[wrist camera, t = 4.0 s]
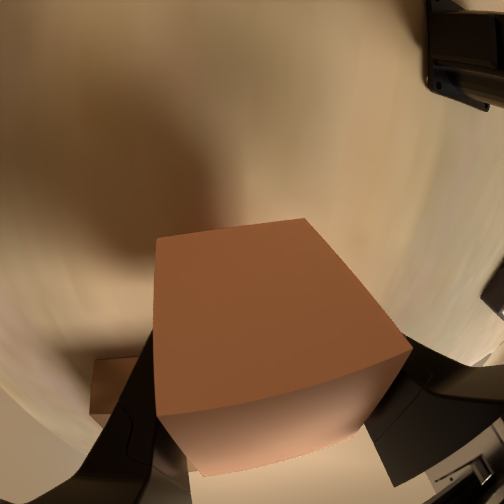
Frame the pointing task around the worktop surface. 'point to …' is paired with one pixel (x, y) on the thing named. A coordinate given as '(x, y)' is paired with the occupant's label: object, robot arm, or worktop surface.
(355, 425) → the terracotta block
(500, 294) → the red white black box
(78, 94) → the worktop surface
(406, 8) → the worktop surface
